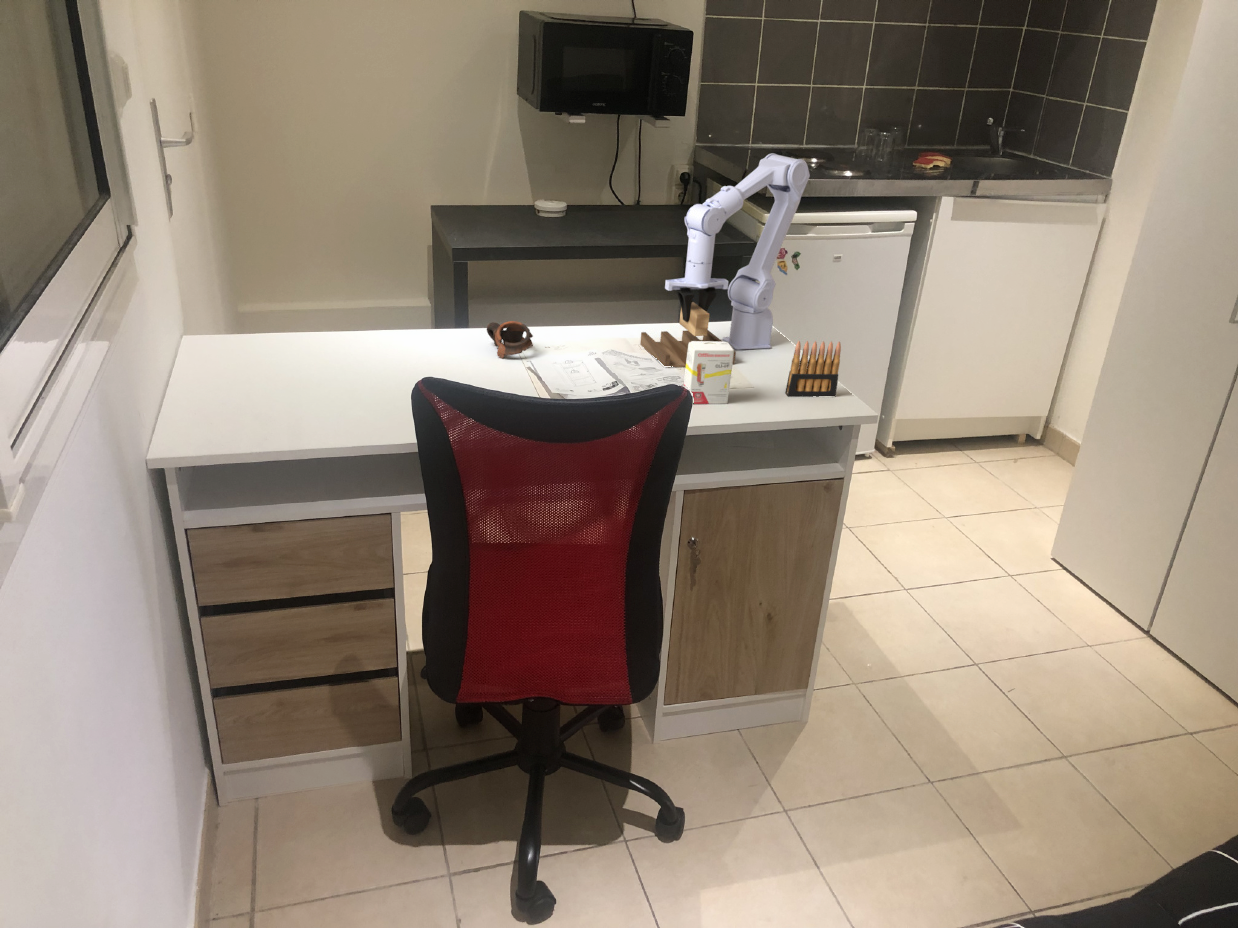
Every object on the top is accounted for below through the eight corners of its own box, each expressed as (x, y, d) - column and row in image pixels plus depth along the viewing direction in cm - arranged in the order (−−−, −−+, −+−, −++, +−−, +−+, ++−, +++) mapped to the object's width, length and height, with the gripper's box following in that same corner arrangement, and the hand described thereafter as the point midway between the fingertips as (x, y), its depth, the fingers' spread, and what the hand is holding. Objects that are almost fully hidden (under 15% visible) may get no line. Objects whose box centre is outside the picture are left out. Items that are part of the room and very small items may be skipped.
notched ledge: (706, 341, 229) (707, 329, 228) (734, 364, 215) (735, 351, 214) (640, 344, 224) (641, 332, 222) (664, 368, 210) (665, 355, 209)
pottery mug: (541, 352, 216) (541, 327, 209) (518, 379, 211) (518, 355, 204) (496, 329, 218) (496, 304, 211) (473, 355, 213) (471, 331, 207)
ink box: (687, 404, 191) (693, 349, 186) (681, 395, 196) (687, 341, 191) (728, 404, 193) (735, 349, 188) (721, 395, 198) (728, 341, 192)
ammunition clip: (832, 393, 203) (842, 340, 198) (835, 396, 201) (845, 343, 196) (784, 393, 201) (793, 339, 196) (787, 396, 200) (796, 342, 194)
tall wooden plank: (691, 323, 220) (693, 302, 218) (706, 335, 212) (709, 314, 210) (679, 323, 219) (681, 302, 217) (694, 336, 212) (697, 314, 209)
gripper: (675, 266, 204) (670, 326, 210) (736, 265, 208) (729, 324, 214) (663, 258, 210) (658, 317, 215) (723, 257, 214) (716, 315, 220)
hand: (693, 320), depth 215 cm, fingers closed on tall wooden plank, 3 cm apart
